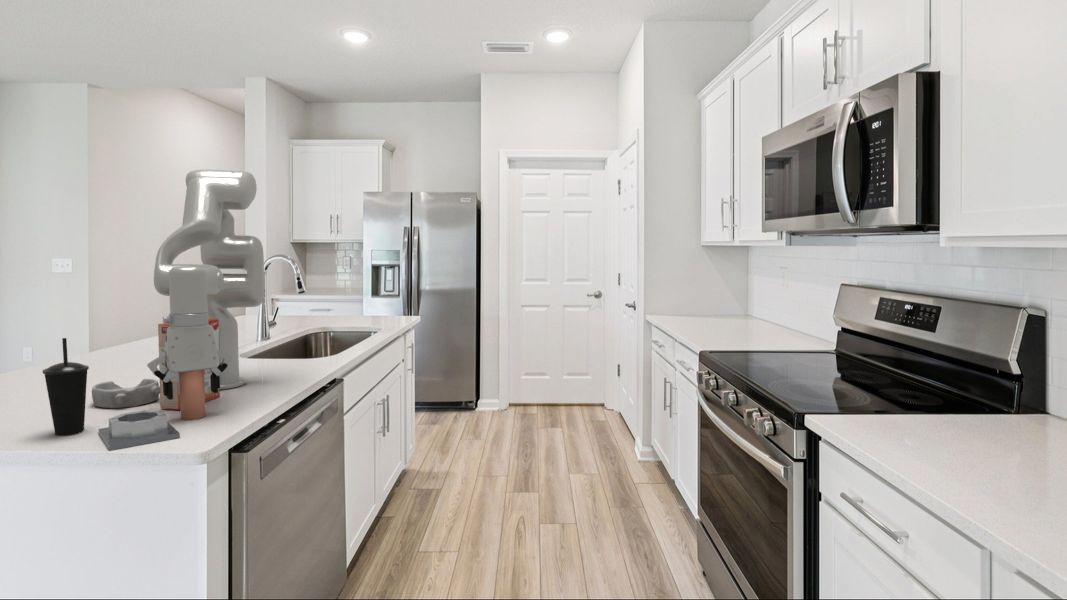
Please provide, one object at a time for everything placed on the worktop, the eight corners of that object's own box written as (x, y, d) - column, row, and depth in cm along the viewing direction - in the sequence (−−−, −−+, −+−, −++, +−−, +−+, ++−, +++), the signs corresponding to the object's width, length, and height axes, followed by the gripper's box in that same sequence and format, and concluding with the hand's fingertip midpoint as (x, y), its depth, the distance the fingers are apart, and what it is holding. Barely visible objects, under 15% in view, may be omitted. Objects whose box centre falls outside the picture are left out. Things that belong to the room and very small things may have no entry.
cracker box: (180, 411, 144) (177, 324, 142) (159, 409, 145) (155, 323, 143) (222, 397, 158) (219, 317, 156) (202, 395, 159) (199, 316, 157)
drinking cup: (62, 427, 131) (57, 335, 129) (100, 426, 131) (95, 335, 129) (36, 438, 123) (31, 341, 121) (76, 437, 124) (71, 341, 122)
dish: (86, 402, 151) (85, 383, 151) (150, 393, 161) (149, 375, 161) (101, 414, 142) (100, 393, 141) (167, 403, 152) (166, 384, 151)
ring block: (98, 433, 126) (97, 414, 126) (164, 422, 134) (163, 405, 134) (109, 450, 116) (108, 430, 116) (179, 437, 124) (179, 418, 124)
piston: (178, 416, 139) (176, 362, 138) (202, 412, 143) (200, 360, 142) (183, 421, 136) (181, 366, 135) (208, 417, 139) (206, 363, 138)
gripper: (148, 325, 129) (152, 404, 130) (235, 319, 140) (237, 392, 142) (141, 321, 134) (145, 398, 136) (225, 316, 146) (228, 386, 147)
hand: (192, 395), depth 139 cm, fingers open, 8 cm apart
